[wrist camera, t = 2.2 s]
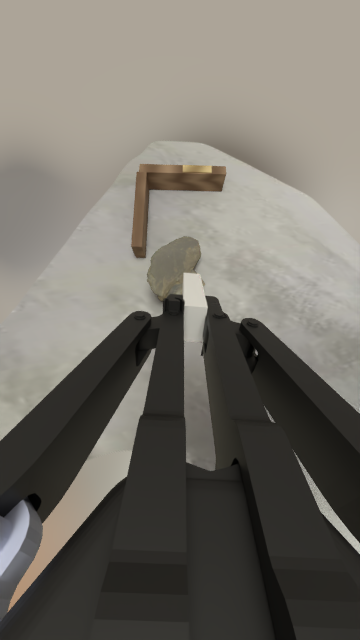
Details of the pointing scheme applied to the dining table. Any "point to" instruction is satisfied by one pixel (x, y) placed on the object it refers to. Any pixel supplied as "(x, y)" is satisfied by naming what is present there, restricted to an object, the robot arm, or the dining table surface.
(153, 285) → the jagged rock
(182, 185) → the brown wooden l-shaped piece
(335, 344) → the dining table surface
